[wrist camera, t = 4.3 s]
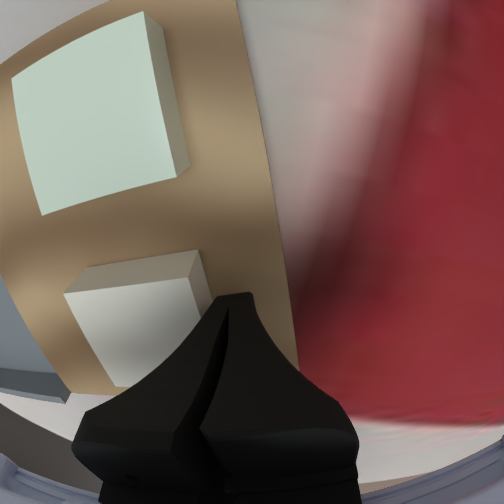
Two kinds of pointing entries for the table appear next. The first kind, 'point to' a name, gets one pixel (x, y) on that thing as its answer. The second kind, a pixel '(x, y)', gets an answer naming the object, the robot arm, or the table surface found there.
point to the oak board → (151, 192)
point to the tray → (24, 358)
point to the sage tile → (100, 115)
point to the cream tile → (139, 310)
